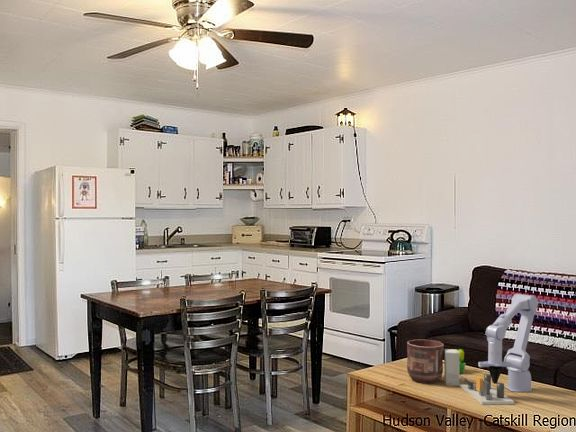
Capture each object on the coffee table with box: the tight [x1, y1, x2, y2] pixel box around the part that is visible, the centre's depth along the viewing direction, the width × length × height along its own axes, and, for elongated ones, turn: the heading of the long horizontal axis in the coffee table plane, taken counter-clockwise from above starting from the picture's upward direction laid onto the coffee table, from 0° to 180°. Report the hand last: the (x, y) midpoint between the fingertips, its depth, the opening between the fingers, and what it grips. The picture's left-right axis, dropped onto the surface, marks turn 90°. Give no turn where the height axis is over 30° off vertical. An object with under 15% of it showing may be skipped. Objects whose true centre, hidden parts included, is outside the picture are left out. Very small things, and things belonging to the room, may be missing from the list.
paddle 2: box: [483, 380, 490, 397], centre depth 233 cm, size 1×4×7 cm, turn 3°
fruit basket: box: [457, 348, 467, 374], centre depth 280 cm, size 11×9×11 cm
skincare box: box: [443, 348, 461, 387], centre depth 258 cm, size 8×7×16 cm
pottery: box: [406, 338, 445, 384], centre depth 263 cm, size 18×18×18 cm
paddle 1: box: [460, 375, 475, 388], centre depth 247 cm, size 1×4×7 cm
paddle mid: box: [475, 375, 484, 392], centre depth 240 cm, size 1×4×7 cm, turn 4°
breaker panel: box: [459, 373, 515, 406], centre depth 241 cm, size 14×24×7 cm, turn 4°
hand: (494, 383), depth 241 cm, fingers closed
